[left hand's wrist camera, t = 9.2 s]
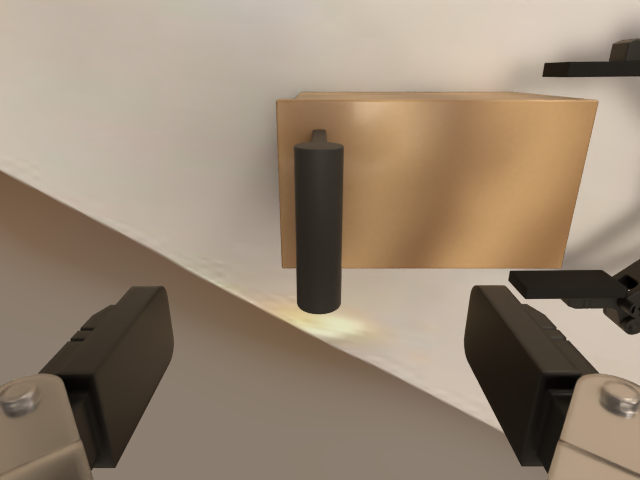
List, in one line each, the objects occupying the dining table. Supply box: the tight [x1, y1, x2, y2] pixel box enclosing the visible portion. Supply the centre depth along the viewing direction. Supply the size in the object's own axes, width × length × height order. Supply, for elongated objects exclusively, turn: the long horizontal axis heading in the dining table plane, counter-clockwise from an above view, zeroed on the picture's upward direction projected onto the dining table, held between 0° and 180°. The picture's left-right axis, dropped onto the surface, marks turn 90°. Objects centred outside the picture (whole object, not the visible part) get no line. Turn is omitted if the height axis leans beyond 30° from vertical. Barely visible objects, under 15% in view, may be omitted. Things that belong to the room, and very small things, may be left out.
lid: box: [276, 99, 598, 314], centre depth 20 cm, size 16×9×8 cm, turn 90°
